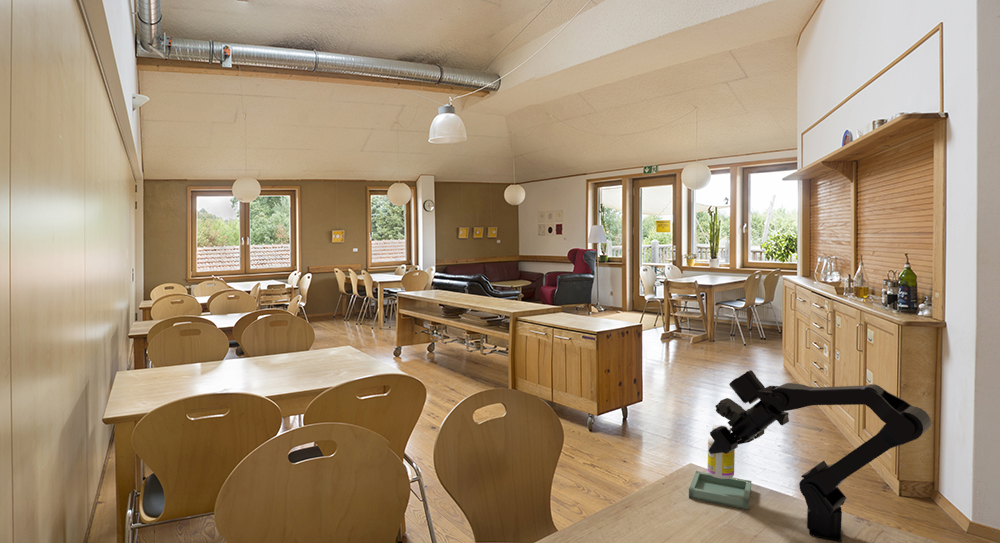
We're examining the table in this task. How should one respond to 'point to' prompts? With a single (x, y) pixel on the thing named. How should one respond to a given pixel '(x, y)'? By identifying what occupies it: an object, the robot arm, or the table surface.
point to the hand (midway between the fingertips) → (716, 448)
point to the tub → (720, 490)
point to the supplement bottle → (720, 461)
